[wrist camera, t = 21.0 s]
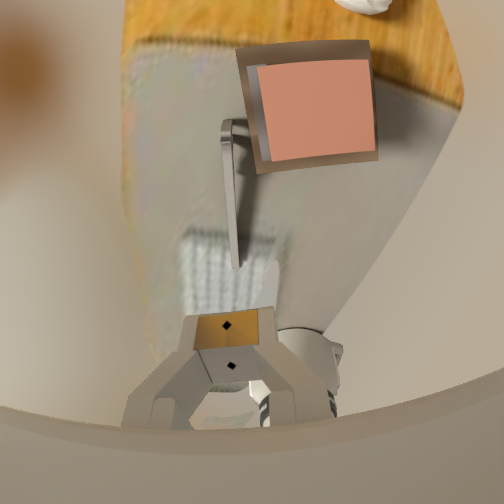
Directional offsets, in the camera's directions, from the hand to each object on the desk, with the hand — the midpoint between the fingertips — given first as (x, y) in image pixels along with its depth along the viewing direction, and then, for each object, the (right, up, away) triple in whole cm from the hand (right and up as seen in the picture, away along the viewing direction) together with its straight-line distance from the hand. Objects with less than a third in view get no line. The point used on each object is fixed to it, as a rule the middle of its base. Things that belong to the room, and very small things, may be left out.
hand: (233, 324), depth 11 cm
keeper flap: (+6, +14, +13) cm, 21 cm away
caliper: (-2, +9, +29) cm, 31 cm away
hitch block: (+6, +20, +22) cm, 30 cm away
